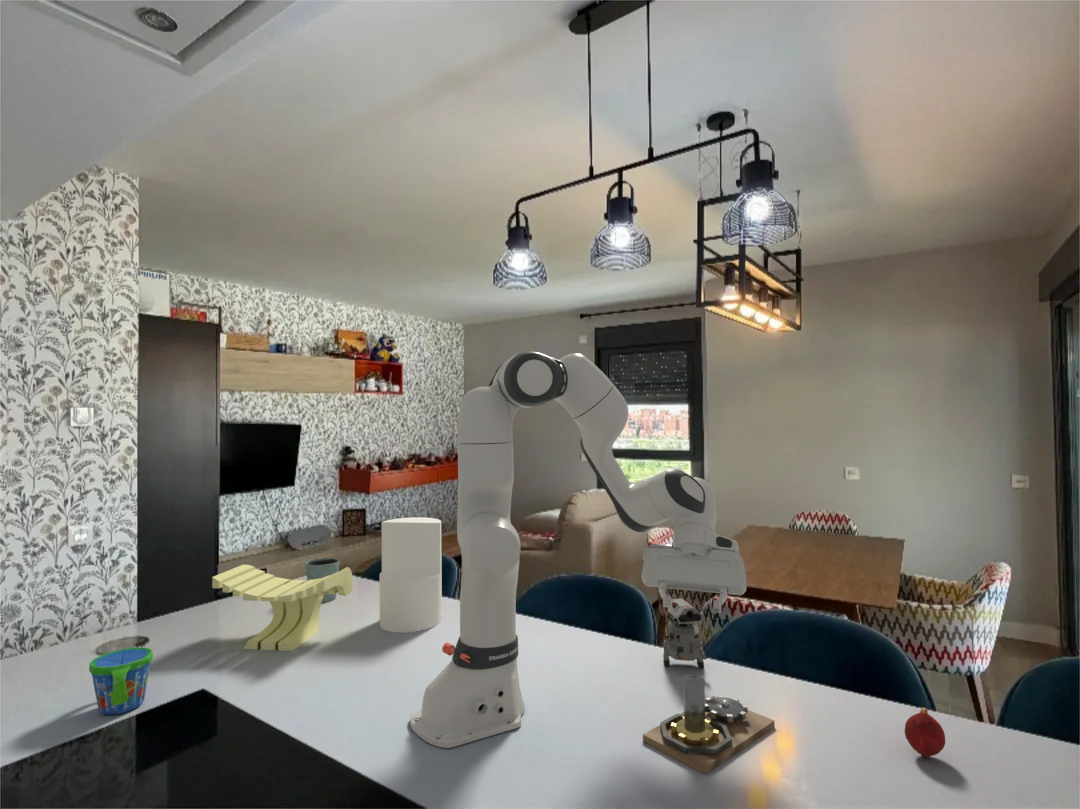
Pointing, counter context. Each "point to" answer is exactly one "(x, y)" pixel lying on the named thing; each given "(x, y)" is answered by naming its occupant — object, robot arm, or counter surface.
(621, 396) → the robot arm
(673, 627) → the figurine
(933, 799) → the counter surface
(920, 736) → the onion
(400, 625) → the cylinder
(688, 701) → the gear
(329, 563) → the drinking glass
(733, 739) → the gear board
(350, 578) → the slatted curved stool
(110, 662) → the snack cup
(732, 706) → the gear
